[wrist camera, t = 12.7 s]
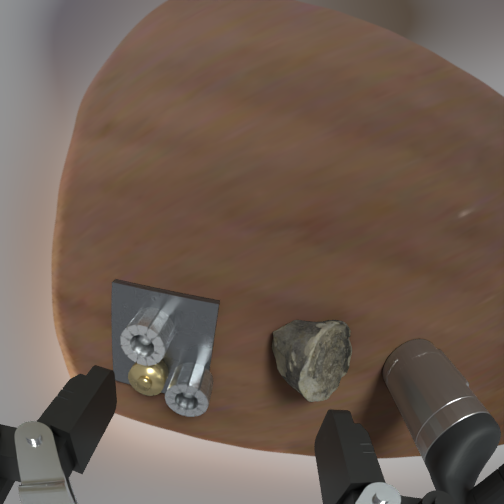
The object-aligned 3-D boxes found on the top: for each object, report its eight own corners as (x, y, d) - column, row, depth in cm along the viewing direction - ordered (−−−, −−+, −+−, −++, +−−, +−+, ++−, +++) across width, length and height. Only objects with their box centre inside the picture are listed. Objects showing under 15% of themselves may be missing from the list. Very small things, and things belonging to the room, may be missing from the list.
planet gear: (175, 312, 39) (165, 331, 34) (173, 348, 40) (163, 369, 36) (135, 303, 39) (120, 320, 34) (134, 339, 40) (121, 359, 36)
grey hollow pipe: (209, 362, 41) (204, 384, 36) (215, 393, 42) (211, 416, 37) (170, 362, 41) (160, 384, 36) (178, 393, 42) (170, 415, 38)
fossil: (367, 357, 41) (351, 416, 33) (311, 366, 46) (287, 418, 39) (337, 297, 38) (315, 355, 31) (277, 312, 44) (245, 364, 36)
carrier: (220, 300, 40) (214, 318, 35) (205, 396, 44) (200, 419, 39) (115, 279, 40) (99, 292, 35) (116, 375, 44) (104, 394, 39)
